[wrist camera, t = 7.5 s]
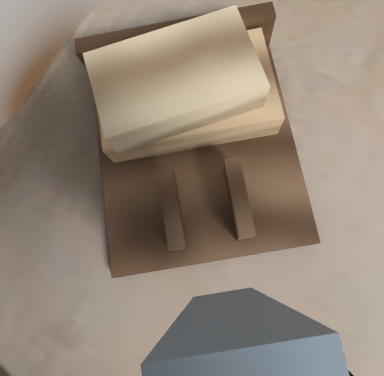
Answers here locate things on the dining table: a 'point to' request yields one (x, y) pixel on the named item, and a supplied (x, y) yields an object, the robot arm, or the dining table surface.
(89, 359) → the dining table surface
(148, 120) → the offcut stack
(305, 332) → the tall board
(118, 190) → the walnut rack
